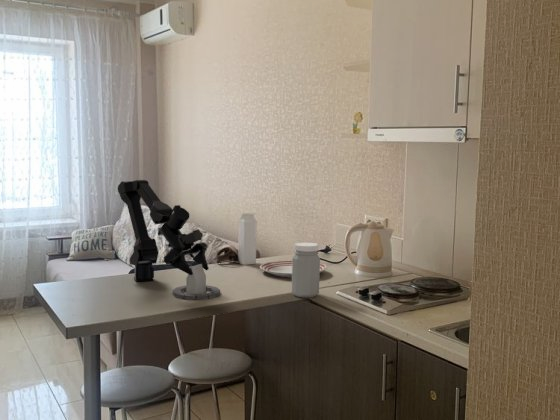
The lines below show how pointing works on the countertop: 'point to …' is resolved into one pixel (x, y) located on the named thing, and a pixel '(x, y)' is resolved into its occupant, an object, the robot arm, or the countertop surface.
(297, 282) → the jar
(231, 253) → the pottery mug
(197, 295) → the ring
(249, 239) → the milk
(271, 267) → the dinner plate
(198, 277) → the tea bag
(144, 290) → the countertop surface
